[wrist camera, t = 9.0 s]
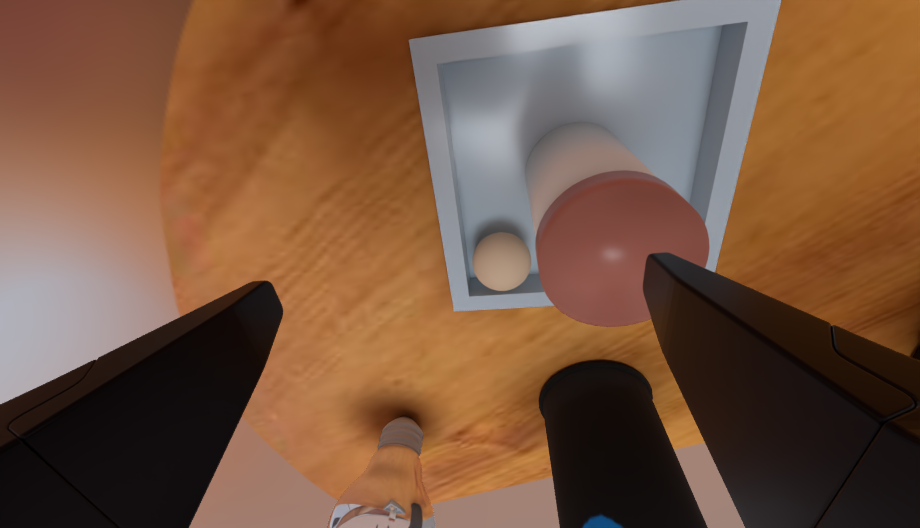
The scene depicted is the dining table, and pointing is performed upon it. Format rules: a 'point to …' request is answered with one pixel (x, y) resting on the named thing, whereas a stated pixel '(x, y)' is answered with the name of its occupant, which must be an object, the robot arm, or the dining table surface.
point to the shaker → (603, 224)
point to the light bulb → (388, 485)
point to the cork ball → (501, 261)
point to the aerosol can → (612, 452)
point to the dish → (586, 114)
